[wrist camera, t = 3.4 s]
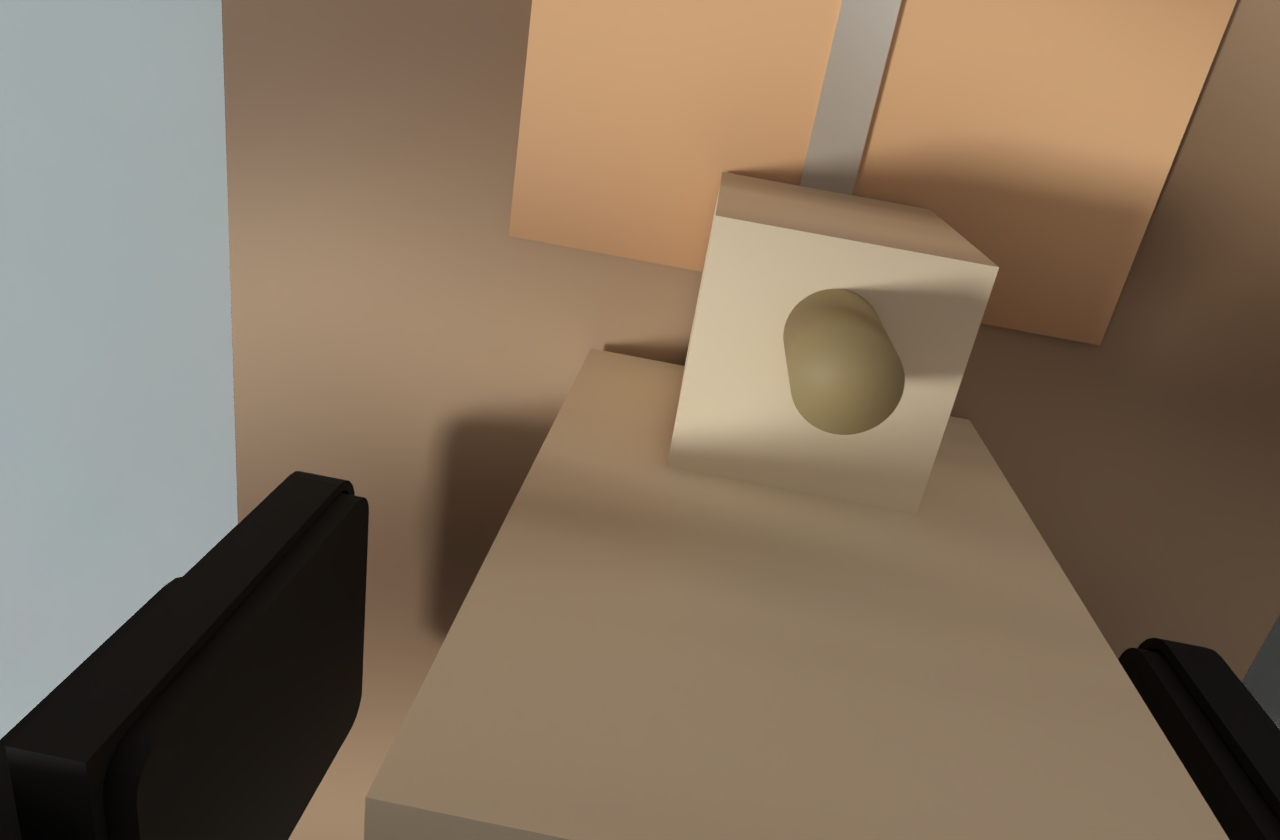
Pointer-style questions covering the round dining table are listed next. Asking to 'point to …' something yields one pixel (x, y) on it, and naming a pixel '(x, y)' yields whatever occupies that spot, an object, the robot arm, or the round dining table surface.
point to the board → (676, 250)
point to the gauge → (783, 586)
